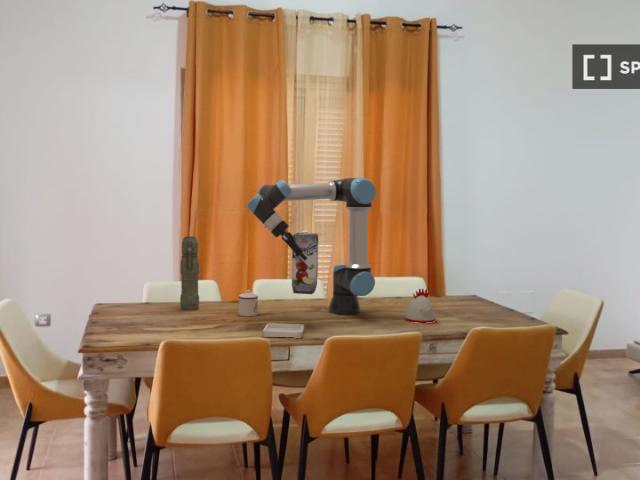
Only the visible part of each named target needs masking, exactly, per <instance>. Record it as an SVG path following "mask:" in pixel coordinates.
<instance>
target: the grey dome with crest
mask: <svg viewBox="0 0 640 480" xmlns="http://www.w3.org/2000/svg"><path fill="white" fill-rule="evenodd" d="M415 293H416V294H415ZM415 293H412V296H413V299H411V300H410V302H409V304H408V306H407V307H406V311H405V314H404V320H406V321H405V322H407V321H409V322H408V323H410V322H419V323H426V322H433V321H435V320H436V319H437V318H436V312H435V309H434V308H435V307H434V305H433V304H432V301H431V300H429V298H428V297H429V296H430V293H431V291H428V288H425V290H424V288H422V289H421V288H418V290H415ZM436 321H437V320H436Z"/></svg>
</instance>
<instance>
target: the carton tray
mask: <svg viewBox="0 0 640 480" xmlns="http://www.w3.org/2000/svg"><path fill="white" fill-rule="evenodd" d="M303 332H305V324H302V323H273V322H268V323H266V325H265V326H264V328H263V330H262V338H267V337H302V338H303V335H304V333H303Z"/></svg>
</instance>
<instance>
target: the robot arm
mask: <svg viewBox="0 0 640 480" xmlns="http://www.w3.org/2000/svg"><path fill="white" fill-rule="evenodd" d="M376 196H377V189H376V186H375V184H374V183H373V182H372V181H371V180H370V179H369V178H364V177H348V178H342V179H336V180H329V182H320V183H318V182H317V183H314V182H313V183H292V184H291V183H290V184H289V183H287V182H286V181H285V180H284V179H283V180H282V179H280V180H279V181H278V182H276V183H275V184H264V185H261V186H260V187H259V188H258V191H257V194H256V195H254V196H253V197H251V199H250V200H249V201H248V202H247V203H246V206H247V208H248V209H249V211H250V212H251V213H252V214H253V215H254V216H255V217H256V218H257V219H258V220H259V221H260V222H261V223H262V225H264V226H263V227H264V228H265V229H268V231H270V233H271V234H272V235H273V237H275V238H279V237H280V236H281V240H283V242H285V243H286V244H287V246H288V247H289V248H290V249H291V250H293V251H294V252H295V254H296V256H297V257H298V256H299V257H300V258H301V259H302V260H303V261H304V262H305V263H306V264H307V265H308V266H309V267H310V266H311V265H312V264H313V263H314V262H313V261H312V260H311V259H310V258H309V257H308V256H307V255H306V254H305V253H304V252H303V251H302V250H301V249H300V248H299V247H298V246H297V244H296V243H295V242H294V239H293V235H294V234H293V233H292V232H290V231H288V230H287V229H288V228H289V227H290V226H289V224H288V223H287V222H286V221H285V220H283V218H282V217H281V216H280V214H278V212H276V210H275V209H276V208H277V207H278V206H279V205H280V204H282V202H288V201H289V202H292V201H311V200H314V201H316V200H329V201H330V202H335V201H336V202H343V203H346V204H345V205H346V209H347V210H348V212H349V219H348V221H349V223H348V224H349V229H348V230H349V235H348V238H349V240H348V243H349V244H348V247H349V248H348V250H349V251H348V256H349V257H348V261H349V262H348V263H347V264H336V265H334V266H333V271H332V274H333V276H332V277H333V279H332V280H333V281H332V286H333V287H332V297H331V300H330V303H329V306H328V311H329V313H331V314H334V315H335V314H336V315H356V314H360V313H361V305H360V302H359V299H358V296H359V297H365V296H367V295H369V294H370V293H371V292H372V291H373V290H374V288H375V285H376V279H375V277H374V275H373V274H372V272H371V271H372V266H371V264H370V263H369V262H368V260H369V257H368V256H369V254H368V253H369V251H368V250H369V249H368V248H369V245H368V244H369V211H370V209H372V203H373V200H375V198H376Z"/></svg>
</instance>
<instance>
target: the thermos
mask: <svg viewBox="0 0 640 480" xmlns="http://www.w3.org/2000/svg"><path fill="white" fill-rule="evenodd" d="M198 253H199V242H198V239H197V237H195V236H184V237H182V241H181V259H180V268H179V269H180V271H179V272H180V274H181V284H180V285H181V292H180V293H181V294H180V300H179V304H180V310H181V311H187V310H190V311H197V310H199V308H200V306H199V304H200V296H199V274H200V261H199V256H198Z"/></svg>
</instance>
